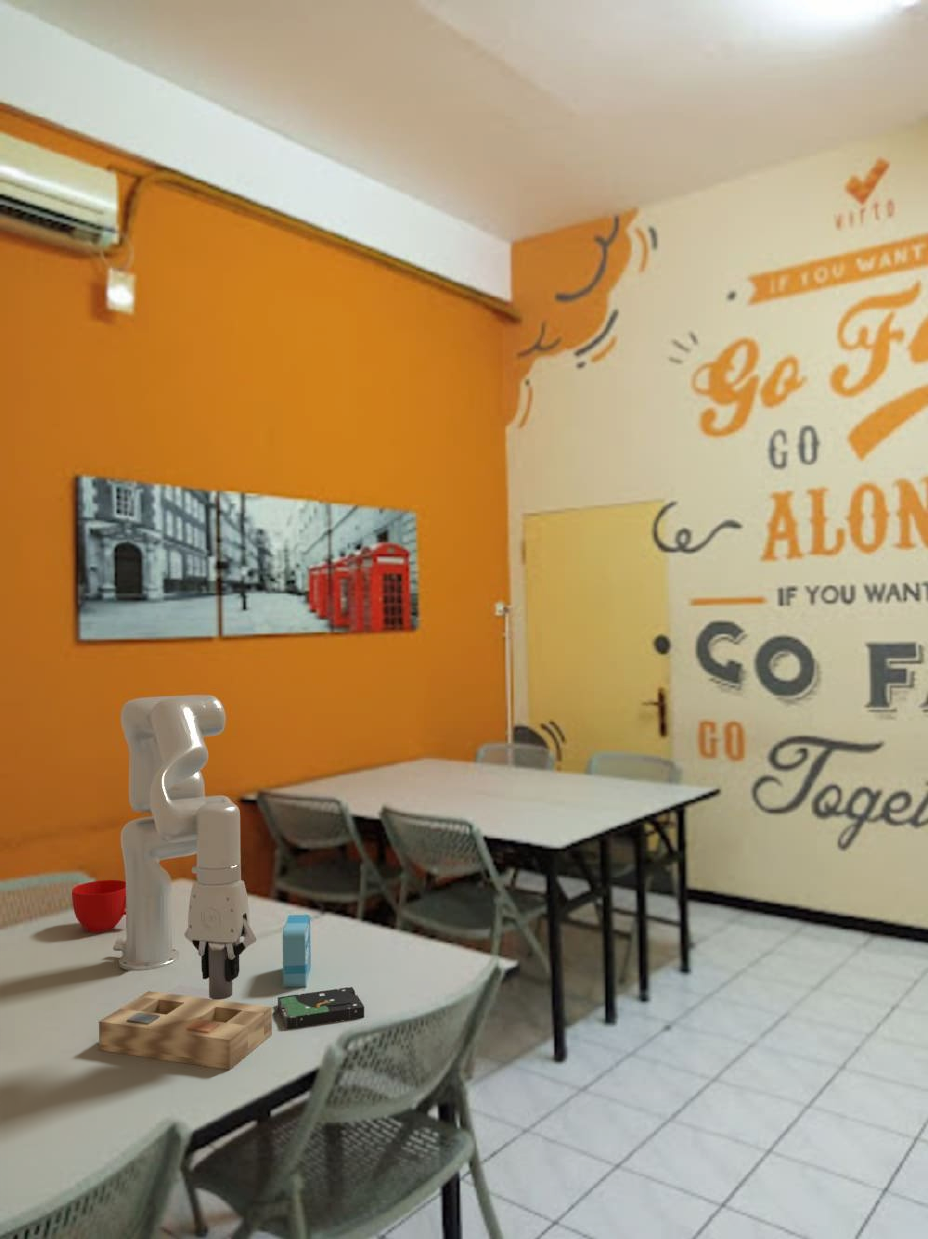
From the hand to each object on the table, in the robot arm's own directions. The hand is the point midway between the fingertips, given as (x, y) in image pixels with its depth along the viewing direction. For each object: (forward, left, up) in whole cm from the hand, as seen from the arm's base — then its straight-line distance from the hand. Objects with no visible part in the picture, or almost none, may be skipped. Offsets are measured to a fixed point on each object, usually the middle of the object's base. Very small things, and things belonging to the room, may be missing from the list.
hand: (220, 976), depth 169 cm
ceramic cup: (-61, +48, -12) cm, 78 cm away
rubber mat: (-17, +15, -12) cm, 25 cm away
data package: (-1, +31, -12) cm, 33 cm away
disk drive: (+11, +17, -12) cm, 24 cm away
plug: (0, 0, -3) cm, 3 cm away
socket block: (-6, -1, -12) cm, 13 cm away
